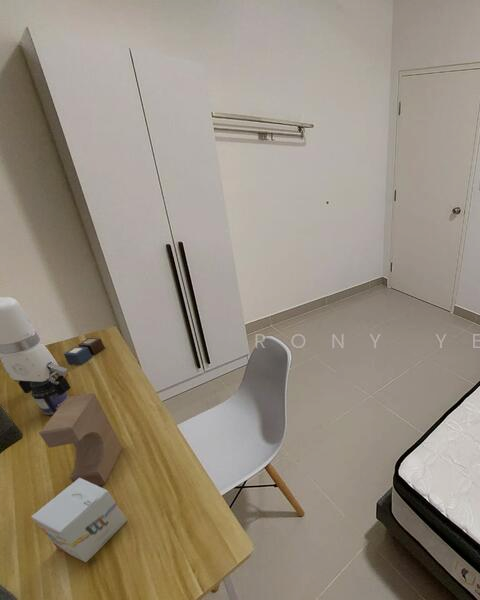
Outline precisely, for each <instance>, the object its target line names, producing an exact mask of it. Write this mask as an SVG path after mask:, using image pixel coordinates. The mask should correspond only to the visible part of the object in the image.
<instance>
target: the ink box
mask: <svg viewBox="0 0 480 600" xmlns="http://www.w3.org/2000/svg"><path fill="white" fill-rule="evenodd" d="M30 518H31V519H32V520H33V521H34V522H35V523H36V524H37V526H38V527H39V528H40V529H41V531H42V532H43V533H44V534H45V535H46V536H47V538H48V539H49V540H50V541H51V542H52V544H53V545H54V547H55V548H56V549H58V550H59V551H62V552H64V553H66V554H68V555H70V556H71V557H73V558H76V559H78V560H80V561H83V562H84V563H88V562H89V561H90V560H91V559H92V557H94V556H95V554H96V553H98V552H99V550H101V548H103V547H104V545H105V544H106V543H107V542H109V540H110V539H111V538H112V537H113V536H114V535H115V534H116V533H117V532H118V531H119V530H120V529H121V528H122V527H123V526H124V525H125V524H126V523H127V521H128V519H127V518H126V516H125V515H124V513H123V512H122V510H121V509H120V507H119V506H118V505H117V503H116V501H115V500H114V498H113V496H112V495H111V493H110V492H109V490H108V489H106V488H103V487H101V486H97V485H95V484H92V483H90V482H88V481H86V480H84V479H81V478H78V479H77V480H76V481H75V482H72V483H71V484H70V485H68V486H67V487H65V488H64V489H63V490H62V491H61V492H59V493H58V494H57V495H56V496H54V497H53V498H52V499H51V500H50V501H48V502H47V503H46V504H44V505H43V506H42V507H41V508H39V509H38V510H37V511H36V512H35V513H33V514H32V515H31V517H30Z"/></svg>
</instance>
